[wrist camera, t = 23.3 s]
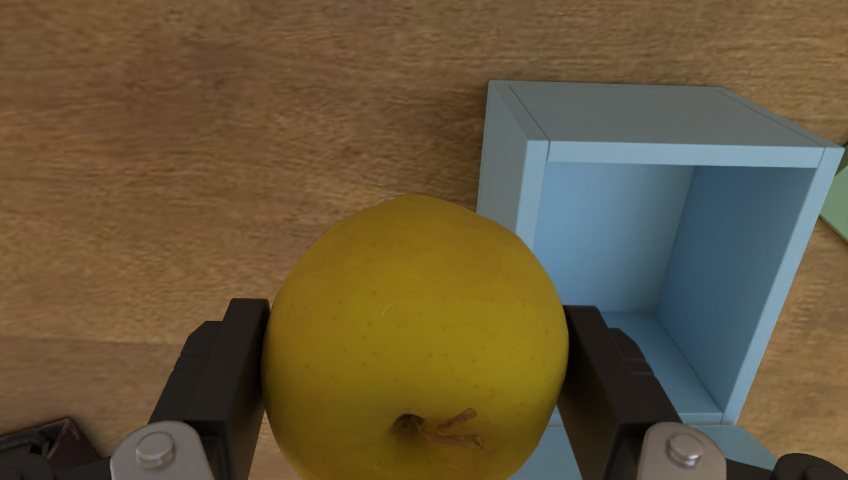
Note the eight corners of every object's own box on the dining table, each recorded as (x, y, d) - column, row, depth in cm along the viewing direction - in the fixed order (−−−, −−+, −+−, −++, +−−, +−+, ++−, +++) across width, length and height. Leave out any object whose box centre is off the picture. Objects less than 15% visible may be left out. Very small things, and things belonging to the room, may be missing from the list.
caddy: (488, 79, 28) (527, 140, 20) (723, 86, 29) (846, 148, 21) (466, 314, 35) (489, 428, 27) (659, 315, 35) (735, 425, 28)
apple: (534, 141, 15) (660, 337, 8) (512, 340, 18) (589, 605, 11) (281, 142, 15) (186, 346, 8) (302, 345, 18) (247, 621, 11)
